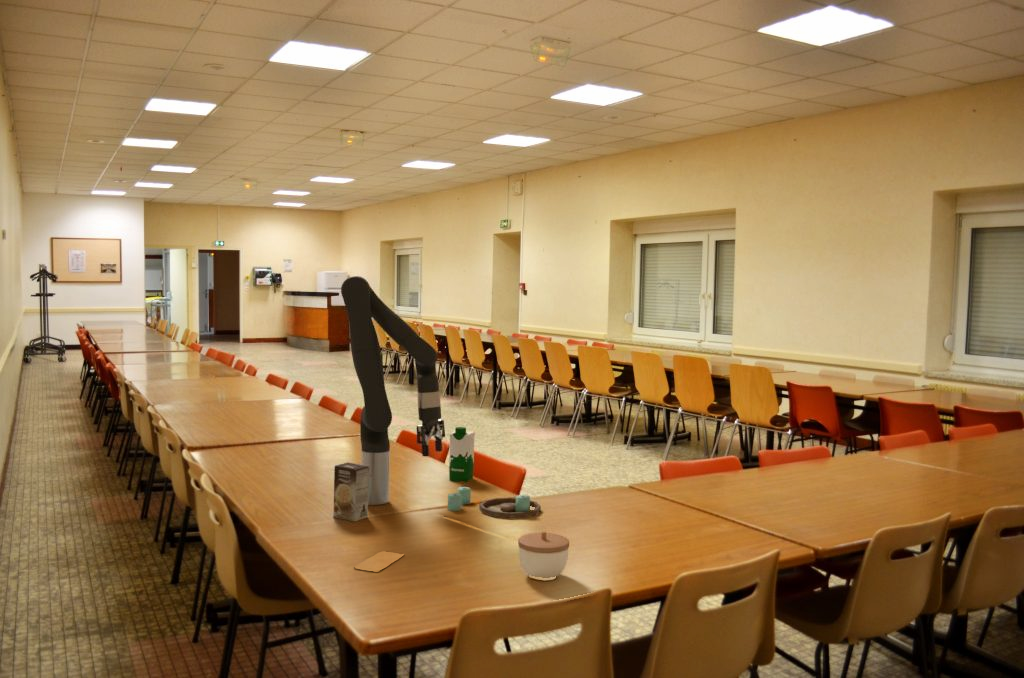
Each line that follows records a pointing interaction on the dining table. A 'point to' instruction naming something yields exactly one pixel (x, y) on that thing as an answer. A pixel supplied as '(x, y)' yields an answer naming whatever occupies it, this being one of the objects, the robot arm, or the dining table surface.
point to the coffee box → (351, 491)
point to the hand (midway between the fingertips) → (432, 453)
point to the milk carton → (461, 455)
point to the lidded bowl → (543, 554)
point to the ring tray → (506, 508)
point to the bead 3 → (522, 503)
